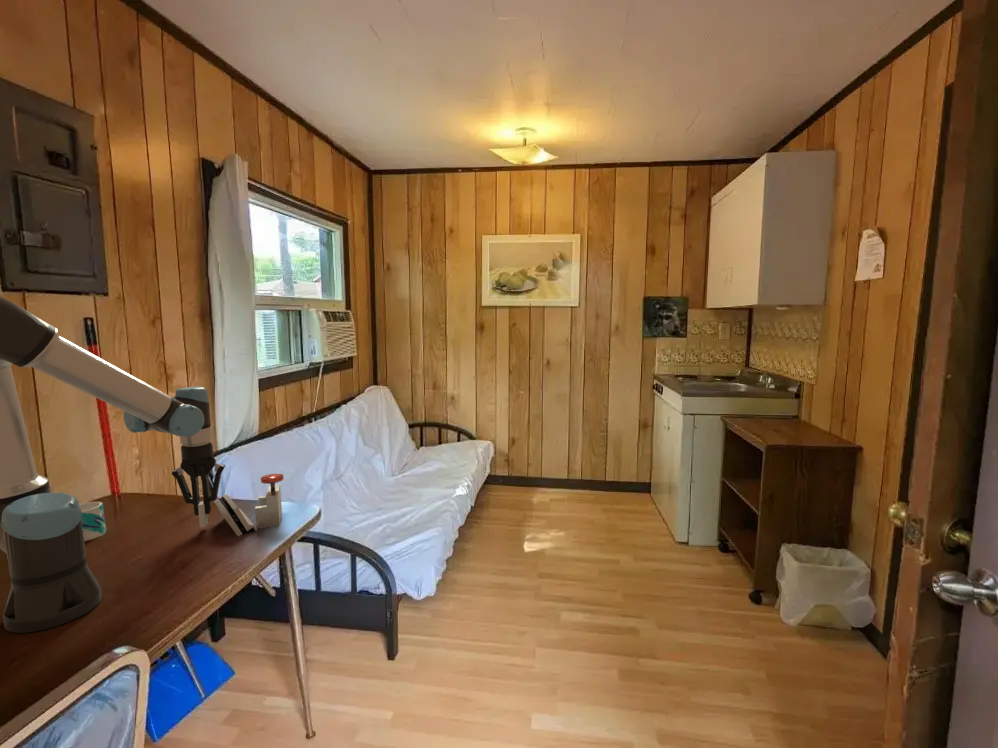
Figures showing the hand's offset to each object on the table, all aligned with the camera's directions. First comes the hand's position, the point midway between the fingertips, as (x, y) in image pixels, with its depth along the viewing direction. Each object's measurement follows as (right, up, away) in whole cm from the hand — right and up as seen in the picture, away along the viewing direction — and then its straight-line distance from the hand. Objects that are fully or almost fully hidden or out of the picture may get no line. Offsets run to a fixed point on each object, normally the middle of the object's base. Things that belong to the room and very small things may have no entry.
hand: (204, 525), depth 143 cm
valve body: (+16, 0, +6) cm, 17 cm away
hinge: (+7, -1, +3) cm, 8 cm away
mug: (-32, -2, 0) cm, 32 cm away
